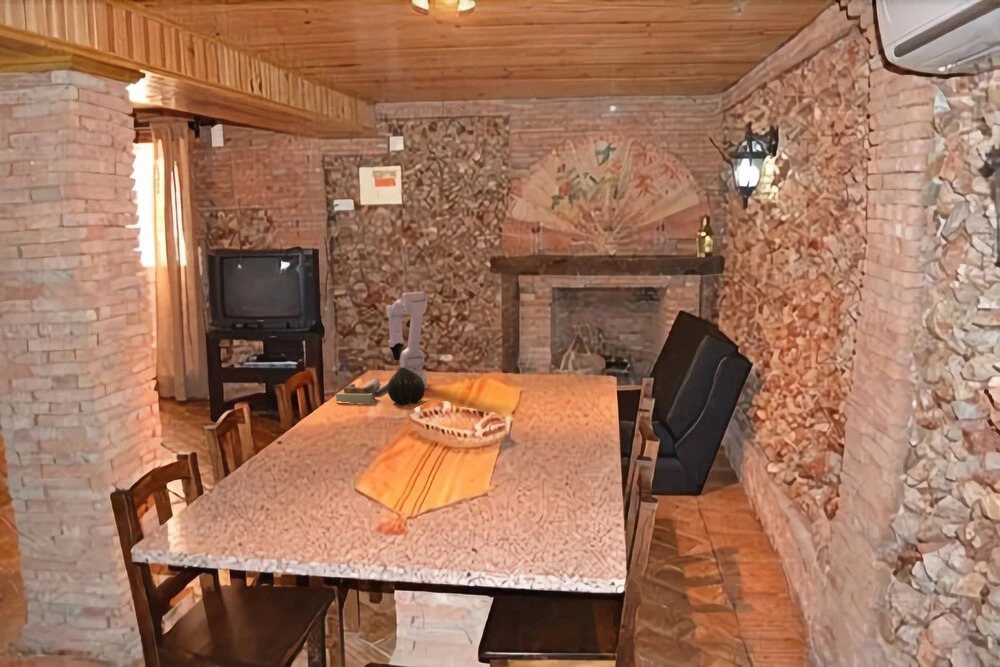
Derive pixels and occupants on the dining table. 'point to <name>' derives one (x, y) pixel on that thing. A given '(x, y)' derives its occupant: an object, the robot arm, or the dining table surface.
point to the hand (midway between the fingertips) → (397, 360)
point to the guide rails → (381, 390)
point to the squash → (406, 387)
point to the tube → (376, 384)
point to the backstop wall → (355, 397)
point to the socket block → (359, 389)
